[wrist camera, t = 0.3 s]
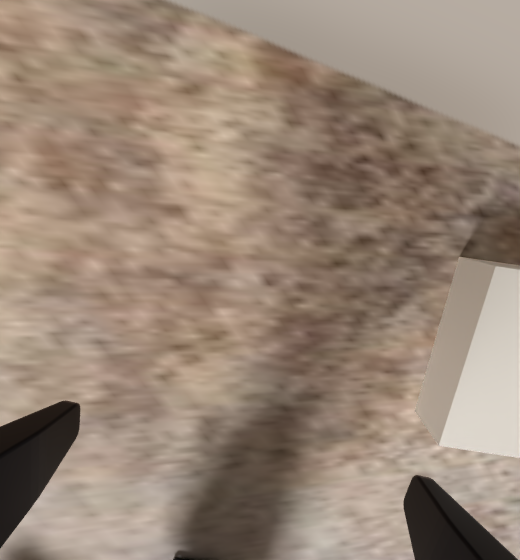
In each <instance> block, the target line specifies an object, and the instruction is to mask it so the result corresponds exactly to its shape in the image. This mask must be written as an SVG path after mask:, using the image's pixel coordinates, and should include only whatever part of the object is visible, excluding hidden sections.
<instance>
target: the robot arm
mask: <svg viewBox="0 0 520 560" xmlns="http://www.w3.org/2000/svg"><path fill="white" fill-rule="evenodd" d="M79 425H80V405H79V404H78V403H75V402H70V401H61V402H59V403H56V404H54V405H51V406H49V407H47V408H44V409H42V410H39V411H37V412H34V413H32V414H30V415H27V416H25V417H22V418H20V419H18V420H15V421H13V422H10V423H8V424H6V425H3V426H1V427H0V548H1V547H2V545H3V544H4V543H5V541H6V540H7V539H8V538H9V536H10V535H11V534H12V532H13V531H14V530H15V528H16V527H17V526H18V524H19V523H20V522H21V520H22V519H23V518H24V516H25V515H26V514H27V512H28V511H29V510H30V509H31V507H32V506H33V504H34V503H35V502H36V500H37V499H38V498H39V496H40V494H41V493H42V491H43V490H44V488H45V487H46V485H47V484H48V482H49V481H50V479H51V477H52V476H53V474H54V473H55V471H56V469H57V468H58V466H59V465H60V463H61V461H62V460H63V458H64V457H65V455H66V453H67V452H68V450H69V449H70V447H71V446H72V444H73V442H74V441H75V439H76V437H77V435H78V432H79ZM404 512H405V516H406V521H407V525H408V530H409V534H410V539H411V544H412V548H413V553H414V557H415V560H518V559H517V558H516V557H515V556H514V555H513V554H511V553H510V552H509V551H508V550H507V549H506V548H505V547H504V546H503V545H502V544H501V543H500V542H499V541H498V540H497V539H496V538H494V537H493V536H492V535H491V534H490V533H489V532H488V531H487V530H486V529H485V528H484V527H483V526H482V525H481V524H480V523H478V522H477V521H476V520H475V519H474V518H473V517H472V516H471V515H470V514H469V513H468V512H467V511H466V510H465V509H464V508H463V507H461V506H460V505H459V504H458V503H457V502H456V501H455V500H454V499H453V498H452V497H451V496H450V495H449V494H448V493H447V492H445V491H444V490H443V489H442V488H441V487H440V486H439V485H438V484H437V483H436V482H435V481H434V480H433V479H431V478H429V477H424V476H419V475H415V476H414V477H413V478H412V480H411V482H410V485H409V487H408V490H407V493H406V495H405V498H404ZM174 560H187V559H180V558H175V559H174Z"/></svg>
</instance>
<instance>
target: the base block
mask: <svg viewBox="0 0 520 560" xmlns="http://www.w3.org/2000/svg"><path fill="white" fill-rule="evenodd" d="M415 412H416V414H417V415H418V417H419V418H420V419H421V421H422V422H423V424H424V425H425V427H426V428H427V430H428V431H429V432H430V434H431V435H432V437H433V438H434V440H435V441H436V443H437V444H438V445H439V446H444V447H450V448H457V449H464V450H470V451H477V452H484V453H490V454H497V455H504V456H510V457H517V458H520V265H514V264H507V263H500V262H493V261H486V260H479V259H472V258H465V257H459V259H458V263H457V266H456V270H455V273H454V276H453V280H452V283H451V287H450V290H449V294H448V297H447V301H446V304H445V308H444V311H443V314H442V318H441V321H440V325H439V328H438V332H437V335H436V339H435V342H434V346H433V349H432V353H431V356H430V359H429V363H428V366H427V370H426V373H425V377H424V380H423V384H422V387H421V391H420V394H419V397H418V401H417V404H416V408H415Z"/></svg>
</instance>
